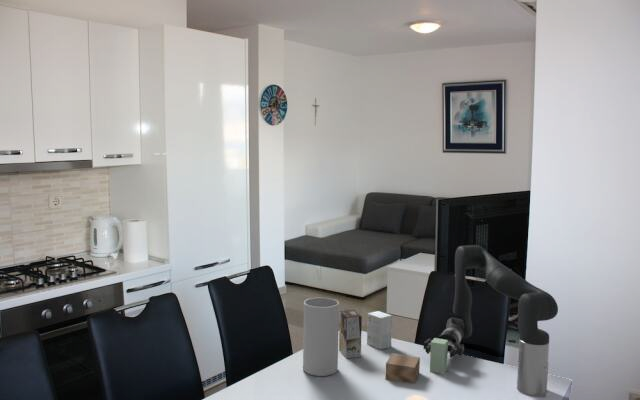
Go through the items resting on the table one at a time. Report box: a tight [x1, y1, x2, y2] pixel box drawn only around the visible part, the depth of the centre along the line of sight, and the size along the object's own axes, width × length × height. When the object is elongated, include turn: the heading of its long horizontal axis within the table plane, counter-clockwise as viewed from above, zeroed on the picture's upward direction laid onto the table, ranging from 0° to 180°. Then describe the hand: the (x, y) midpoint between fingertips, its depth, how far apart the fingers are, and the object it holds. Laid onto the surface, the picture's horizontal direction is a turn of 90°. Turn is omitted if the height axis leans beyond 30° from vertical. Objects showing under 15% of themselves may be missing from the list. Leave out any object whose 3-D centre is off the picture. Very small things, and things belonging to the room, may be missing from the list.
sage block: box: [429, 337, 449, 375], centre depth 203 cm, size 5×5×11 cm
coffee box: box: [338, 309, 363, 359], centre depth 218 cm, size 9×6×16 cm
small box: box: [366, 310, 393, 350], centre depth 227 cm, size 8×6×13 cm
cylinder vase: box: [302, 297, 340, 377], centre depth 201 cm, size 12×12×25 cm
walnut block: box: [384, 353, 421, 385], centre depth 198 cm, size 10×10×6 cm
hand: (439, 353), depth 203 cm, fingers open, 8 cm apart
